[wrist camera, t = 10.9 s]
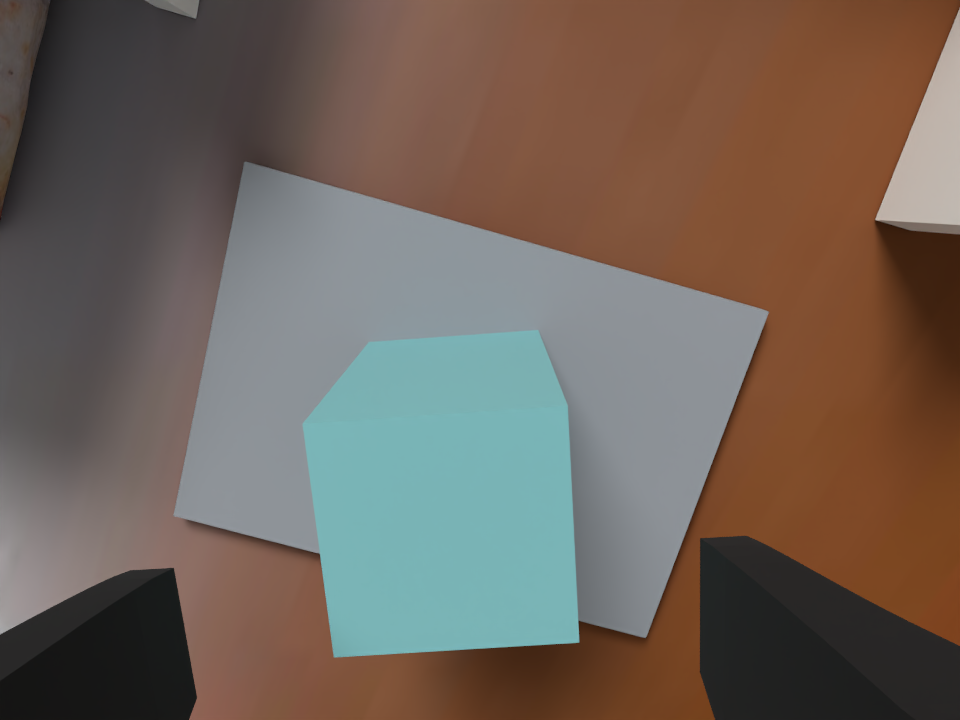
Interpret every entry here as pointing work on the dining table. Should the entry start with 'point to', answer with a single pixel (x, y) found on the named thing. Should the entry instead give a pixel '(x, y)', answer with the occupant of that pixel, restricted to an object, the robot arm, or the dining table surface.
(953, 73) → the open folding screen
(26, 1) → the food item
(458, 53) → the dining table surface
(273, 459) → the slate mat
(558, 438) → the teal block
